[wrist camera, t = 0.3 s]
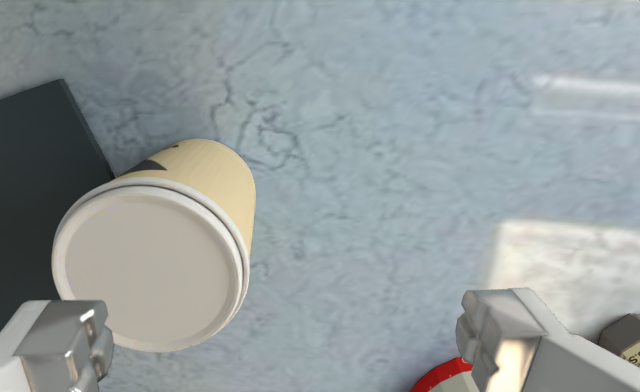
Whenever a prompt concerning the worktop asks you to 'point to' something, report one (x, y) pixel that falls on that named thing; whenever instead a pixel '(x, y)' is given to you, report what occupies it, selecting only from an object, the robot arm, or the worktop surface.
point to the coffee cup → (162, 246)
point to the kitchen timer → (448, 378)
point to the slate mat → (40, 186)
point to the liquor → (623, 339)
